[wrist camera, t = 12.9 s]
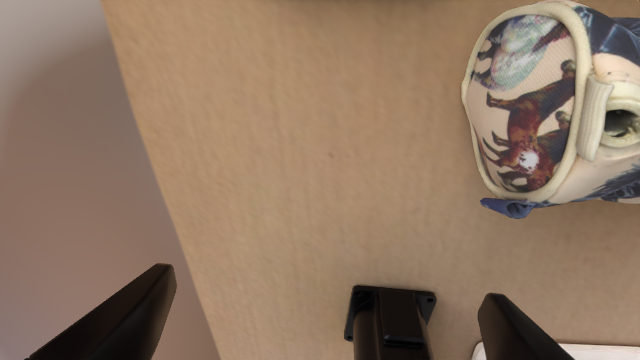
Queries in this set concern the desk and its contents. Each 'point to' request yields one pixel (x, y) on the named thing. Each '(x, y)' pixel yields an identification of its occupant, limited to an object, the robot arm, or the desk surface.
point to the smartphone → (584, 352)
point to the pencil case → (555, 107)
